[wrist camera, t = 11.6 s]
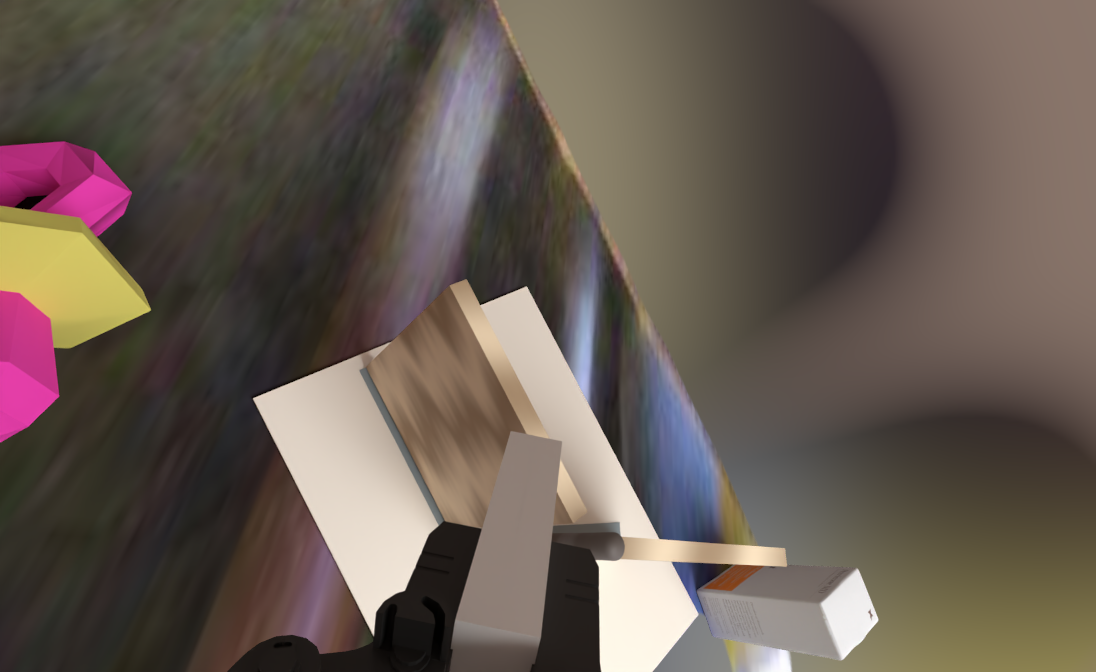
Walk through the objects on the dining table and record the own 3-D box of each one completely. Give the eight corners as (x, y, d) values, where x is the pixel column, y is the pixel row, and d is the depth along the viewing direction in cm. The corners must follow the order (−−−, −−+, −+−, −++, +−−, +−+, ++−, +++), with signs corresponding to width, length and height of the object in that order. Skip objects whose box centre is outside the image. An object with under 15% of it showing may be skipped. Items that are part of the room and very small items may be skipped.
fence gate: (484, 552, 38) (620, 558, 26) (485, 537, 38) (620, 536, 26) (623, 559, 44) (786, 566, 32) (623, 546, 44) (784, 548, 32)
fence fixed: (352, 373, 37) (446, 279, 24) (386, 359, 39) (492, 263, 25) (454, 572, 37) (609, 590, 23) (484, 549, 38) (645, 554, 25)
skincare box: (734, 560, 51) (859, 565, 41) (750, 606, 50) (881, 622, 41) (693, 589, 47) (820, 601, 38) (710, 639, 47) (844, 664, 37)
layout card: (252, 399, 34) (253, 398, 33) (525, 287, 48) (527, 286, 47) (490, 867, 33) (493, 870, 33) (696, 614, 47) (699, 614, 46)
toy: (188, 213, 36) (91, 60, 27) (153, 473, 26) (-11, 367, 18) (9, 231, 34) (-158, 71, 25) (-98, 520, 24) (-422, 427, 16)
